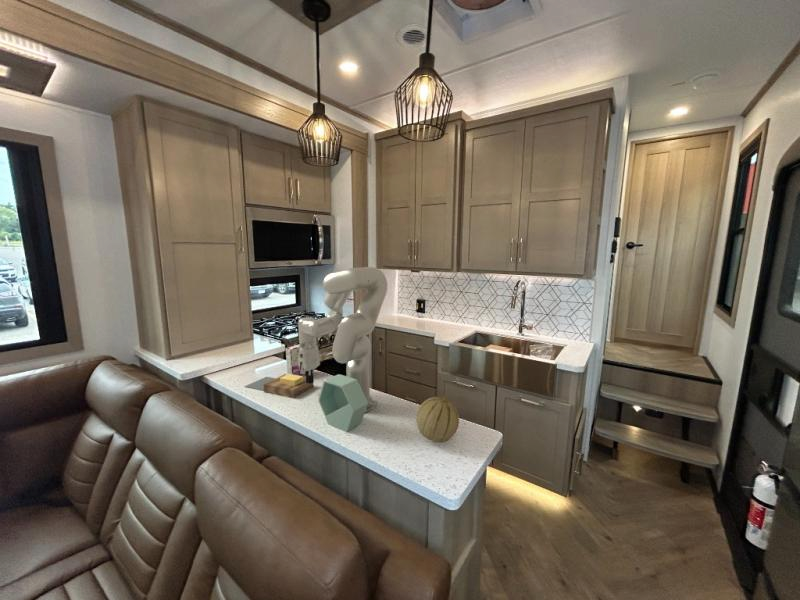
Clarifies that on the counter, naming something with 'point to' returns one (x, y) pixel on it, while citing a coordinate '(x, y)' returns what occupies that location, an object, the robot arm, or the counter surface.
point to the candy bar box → (293, 360)
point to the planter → (342, 402)
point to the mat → (259, 383)
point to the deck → (286, 388)
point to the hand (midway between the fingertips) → (309, 382)
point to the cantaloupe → (437, 419)
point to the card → (291, 379)
